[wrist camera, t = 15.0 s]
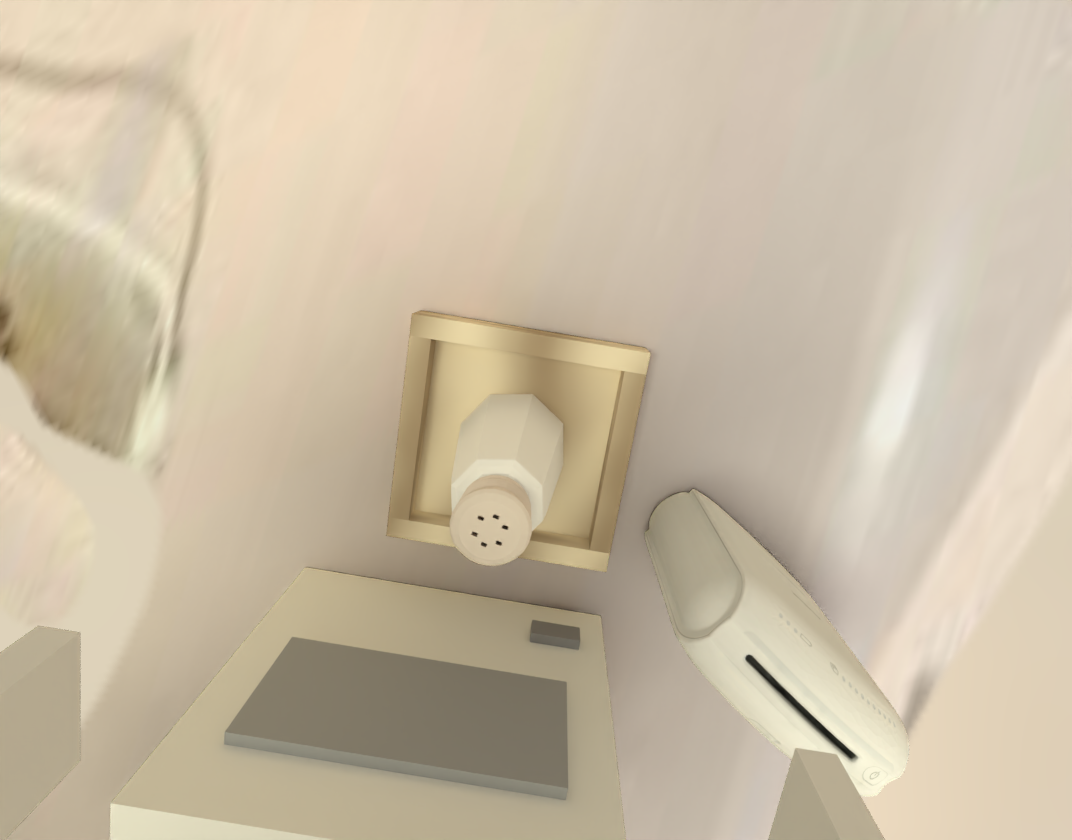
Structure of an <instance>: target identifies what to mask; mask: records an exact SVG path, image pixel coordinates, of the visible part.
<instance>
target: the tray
mask: <svg viewBox="0 0 1072 840" xmlns="http://www.w3.org/2000/svg"><path fill="white" fill-rule="evenodd" d="M650 354H651V353H650V352H649V351H648V350H647V349H646V348H644V347H638V346H632V345H626V344H620V343H614V342H608V341H602V340H596V339H590V338H584V337H578V336H572V335H566V334H560V333H554V332H548V331H542V330H536V329H530V328H524V327H518V326H512V325H506V324H500V323H494V322H488V321H482V320H476V319H470V318H464V317H458V316H452V315H446V314H440V313H434V312H427V311H418V312H415V313H413V314H412V318H411V327H410V335H409V344H408V352H407V361H406V370H405V378H404V387H403V395H402V404H401V413H400V421H399V430H398V438H397V447H396V456H395V464H394V473H393V481H392V490H391V498H390V507H389V516H388V524H387V533H386V536H390V537H396V538H402V539H408V540H415V541H421V542H427V543H433V544H439V545H445V546H451V547H456V546H455V545H454V543H453V541H452V538H451V535H450V519H451V515H452V504H451V477H452V472H453V466H454V460H455V455H456V449H457V443H458V438H459V432H460V426H461V423H462V422H463V421H464V420H465V419H466V418H467V417H468V416H469V415H470V414H471V413H472V412H473V411H474V410H475V409H476V408H477V407H478V406H479V405H480V404H481V403H482V402H483V401H484V400H485V399H486V398H487V397H488V396H489V395H490V394H533V395H534V396H535V397H536V398H537V399H538V400H540V401H541V402H542V403H543V404H544V405H545V406H546V407H547V408H548V409H549V410H550V411H551V412H552V413H553V414H554V415H555V416H556V417H557V418H558V419H559V420H560V421H561V422H562V423H563V467H562V470H561V473H560V475H559V478H558V481H557V484H556V487H555V490H554V493H553V496H552V498H551V501H550V504H549V507H548V510H547V513H546V515H545V517H544V519H543V521H542V522H541V523H540V524H539V525H538V526H537V527H536V528H535V529H534V530H533V531H532V534H531V538H530V541H529V544H528V546H527V547H526V549H525V550H524V552H523V553H522V554H521V555H520V556H519V557H518V558H524V559H530V560H536V561H542V562H548V563H554V564H560V565H566V566H572V567H578V568H584V569H590V570H596V571H602V572H606V570H607V565H608V560H609V555H610V551H611V546H612V541H613V536H614V531H615V526H616V521H617V516H618V511H619V506H620V501H621V496H622V492H623V487H624V482H625V477H626V472H627V467H628V462H629V457H630V452H631V447H632V442H633V438H634V433H635V428H636V423H637V418H638V413H639V408H640V403H641V398H642V393H643V388H644V384H645V379H646V374H647V369H648V364H649V359H650Z"/></svg>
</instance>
